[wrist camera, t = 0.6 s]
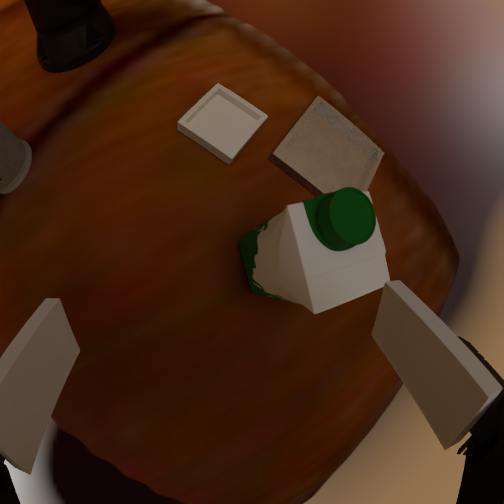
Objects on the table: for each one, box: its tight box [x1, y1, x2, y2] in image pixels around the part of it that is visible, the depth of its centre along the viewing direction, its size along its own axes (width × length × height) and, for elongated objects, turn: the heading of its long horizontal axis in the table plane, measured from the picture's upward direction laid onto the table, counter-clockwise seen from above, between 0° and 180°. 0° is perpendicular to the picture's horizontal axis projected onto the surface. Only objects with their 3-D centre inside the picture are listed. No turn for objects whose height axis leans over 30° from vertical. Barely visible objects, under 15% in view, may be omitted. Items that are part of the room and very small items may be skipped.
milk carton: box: [238, 187, 390, 314], centre depth 28 cm, size 9×9×20 cm
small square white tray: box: [177, 83, 268, 165], centre depth 36 cm, size 9×9×2 cm
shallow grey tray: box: [268, 96, 384, 197], centre depth 40 cm, size 15×15×2 cm
